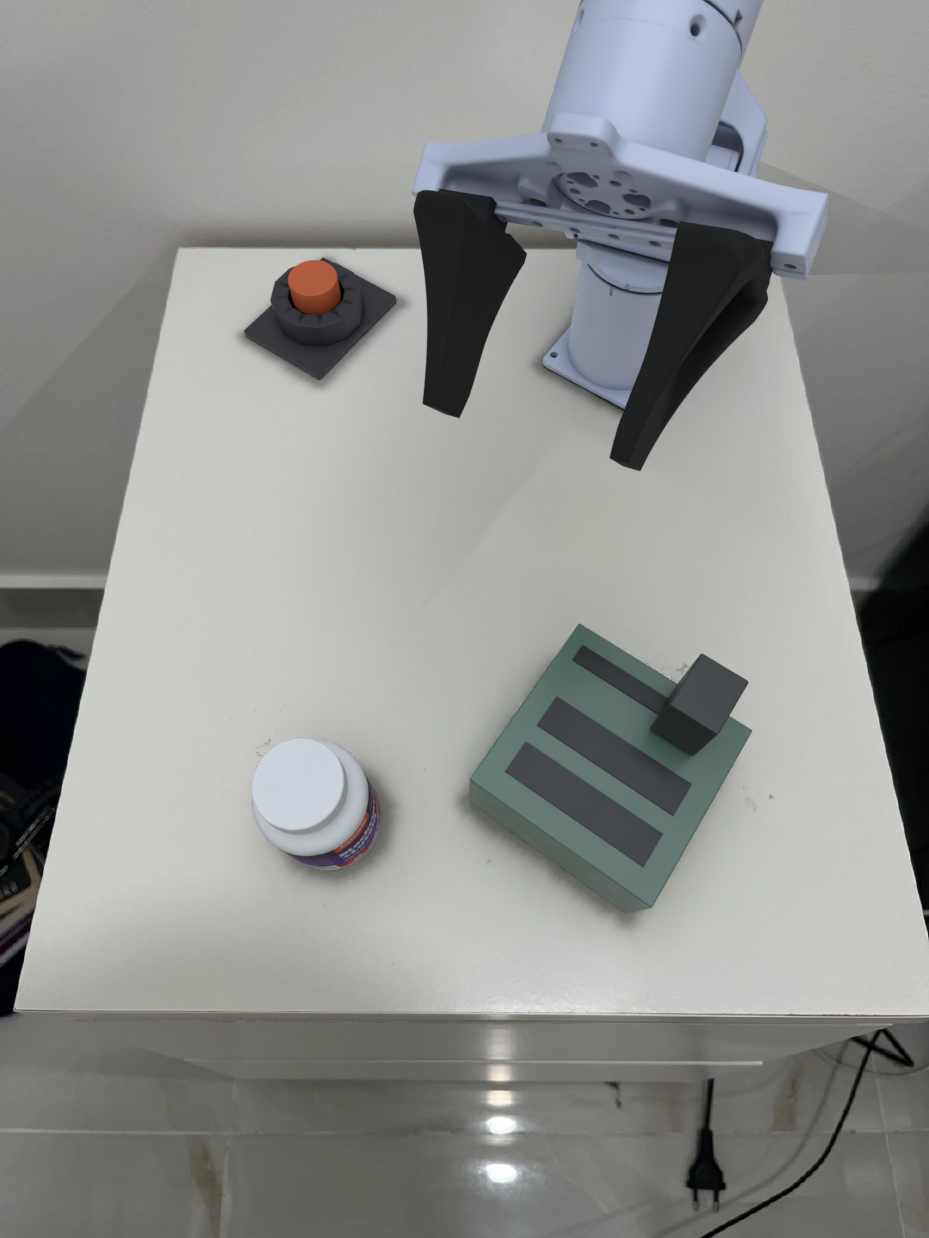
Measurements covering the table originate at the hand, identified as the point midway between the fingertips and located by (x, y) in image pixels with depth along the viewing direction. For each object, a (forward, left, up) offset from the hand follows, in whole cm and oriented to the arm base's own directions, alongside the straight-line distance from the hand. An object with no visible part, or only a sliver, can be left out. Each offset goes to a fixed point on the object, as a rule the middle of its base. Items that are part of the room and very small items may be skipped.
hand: (528, 437), depth 28 cm
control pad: (-13, -25, -19) cm, 34 cm away
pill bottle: (+14, -2, -20) cm, 24 cm away
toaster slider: (+1, +11, -13) cm, 17 cm away
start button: (-13, -25, -17) cm, 33 cm away
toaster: (+4, +9, -19) cm, 22 cm away
